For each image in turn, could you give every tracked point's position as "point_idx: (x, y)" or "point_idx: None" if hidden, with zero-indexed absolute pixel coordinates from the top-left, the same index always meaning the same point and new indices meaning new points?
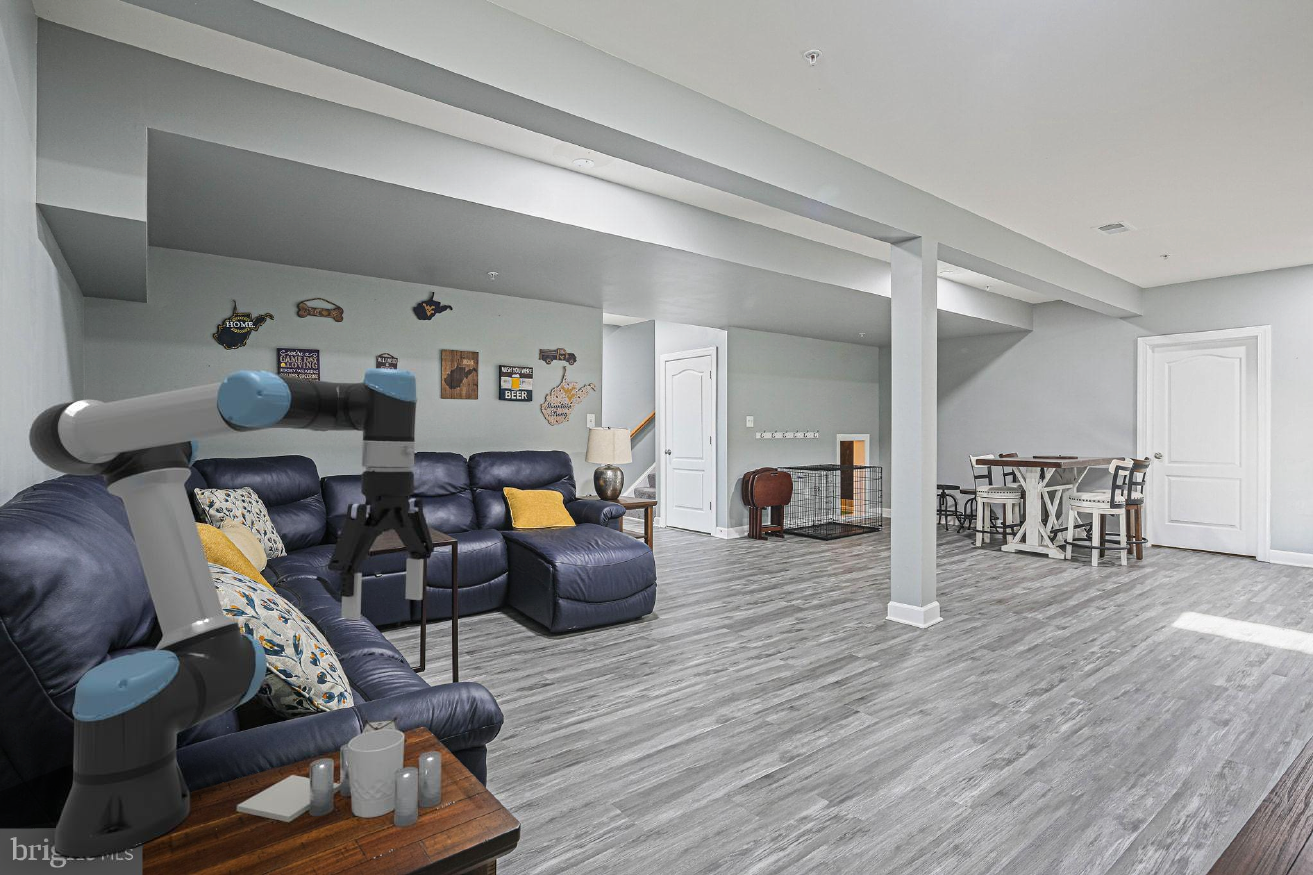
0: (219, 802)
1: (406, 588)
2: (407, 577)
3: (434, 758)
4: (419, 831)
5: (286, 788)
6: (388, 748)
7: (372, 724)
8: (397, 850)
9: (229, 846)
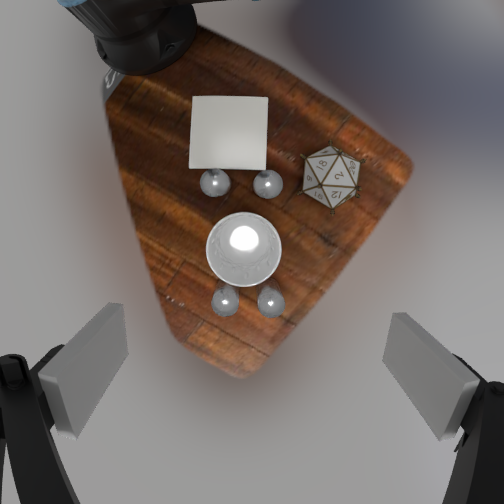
0: (204, 66)
1: (406, 329)
2: (424, 350)
3: (266, 314)
4: None
5: (238, 116)
6: (226, 282)
7: (335, 165)
8: (183, 310)
9: (140, 149)
